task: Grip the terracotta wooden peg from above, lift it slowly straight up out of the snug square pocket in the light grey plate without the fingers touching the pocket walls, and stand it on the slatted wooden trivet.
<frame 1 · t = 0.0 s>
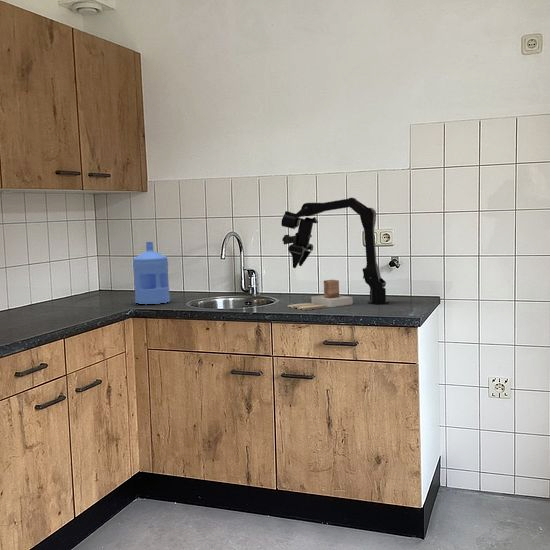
hand: (297, 266, 285), 15 cm above the table, tool pointing down, fingers open, 9 cm apart
terracotta peg: (331, 292, 278), in the pocket plate
slatted wooden trivet: (306, 307, 272), on the table
pocket plate: (331, 304, 278), on the table
water jug: (152, 303, 303), on the table
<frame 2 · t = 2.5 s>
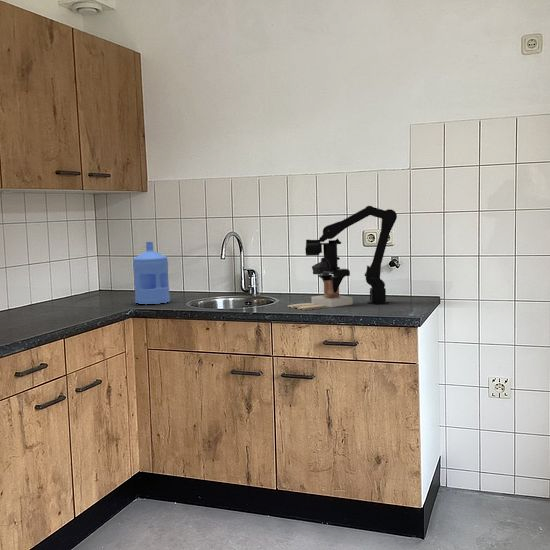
hand: (331, 292, 278), 5 cm above the table, tool pointing down, fingers closed on terracotta peg, 4 cm apart
terracotta peg: (331, 292, 278), in the pocket plate, touching gripper
everything else where it was.
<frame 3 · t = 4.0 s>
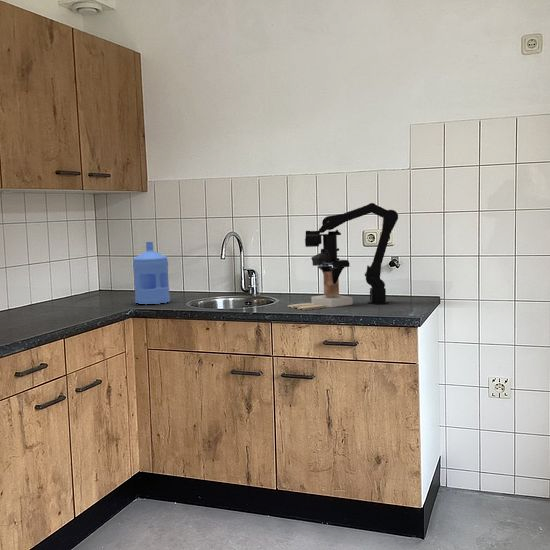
hand: (331, 283, 278), 9 cm above the table, tool pointing down, fingers closed on terracotta peg, 4 cm apart
terracotta peg: (331, 283, 278), point 9 cm above the table, touching gripper
everything else where it was.
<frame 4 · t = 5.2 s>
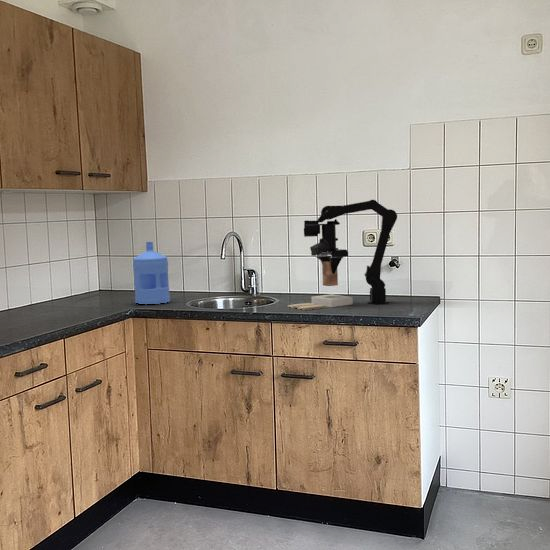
hand: (329, 273, 277), 13 cm above the table, tool pointing down, fingers closed on terracotta peg, 4 cm apart
terracotta peg: (329, 273, 277), point 13 cm above the table, touching gripper
everything else where it was.
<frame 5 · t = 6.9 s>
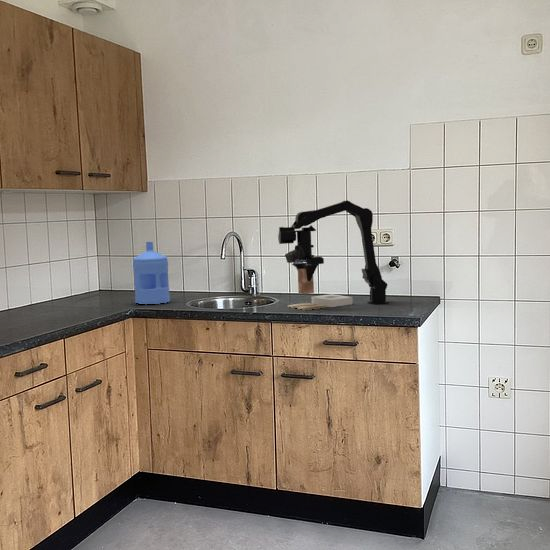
hand: (305, 280, 271), 11 cm above the table, tool pointing down, fingers closed on terracotta peg, 4 cm apart
terracotta peg: (305, 280, 271), point 11 cm above the table, touching gripper
everything else where it was.
when the fingers open (7 cm above the table, at t = 8.0 s): terracotta peg drops 1 cm, resting on slatted wooden trivet.
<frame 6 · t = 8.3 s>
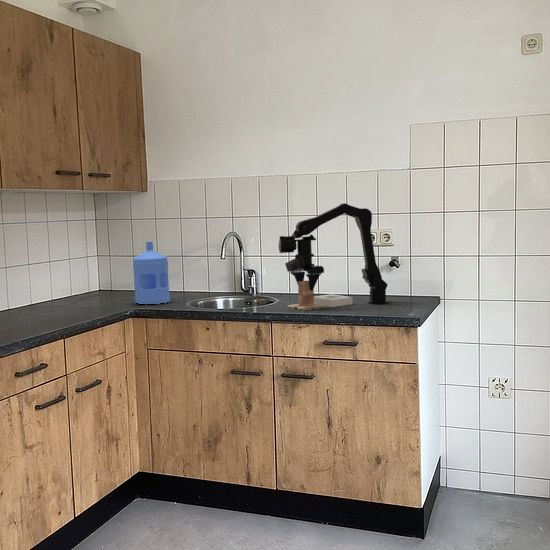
hand: (305, 289, 271), 7 cm above the table, tool pointing down, fingers open, 8 cm apart
terracotta peg: (306, 293, 271), on the slatted wooden trivet, point 6 cm above the table
everything else where it was.
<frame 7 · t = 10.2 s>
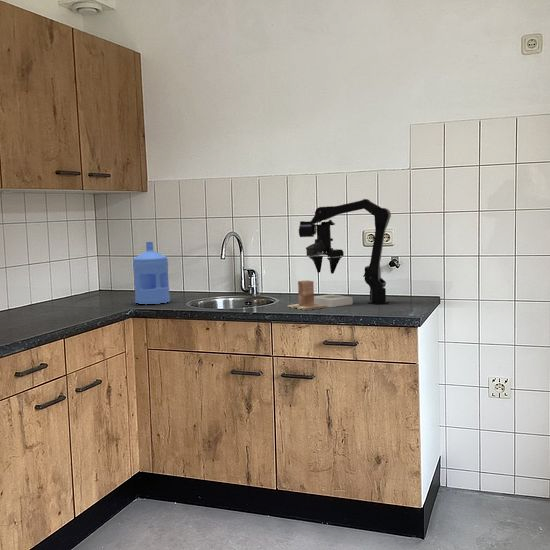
hand: (325, 273, 282), 13 cm above the table, tool pointing down, fingers open, 9 cm apart
nothing on the table moved.
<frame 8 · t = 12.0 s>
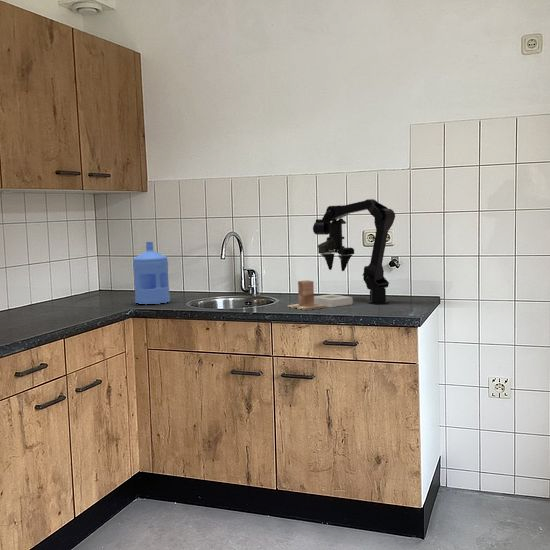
hand: (336, 270, 289), 13 cm above the table, tool pointing down, fingers open, 9 cm apart
nothing on the table moved.
at the end: terracotta peg inside the target area on the slatted wooden trivet (0.1 cm from its centre), point 5.8 cm above the slatted wooden trivet's base; terracotta peg tilted 0°; the gripper is holding nothing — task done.
